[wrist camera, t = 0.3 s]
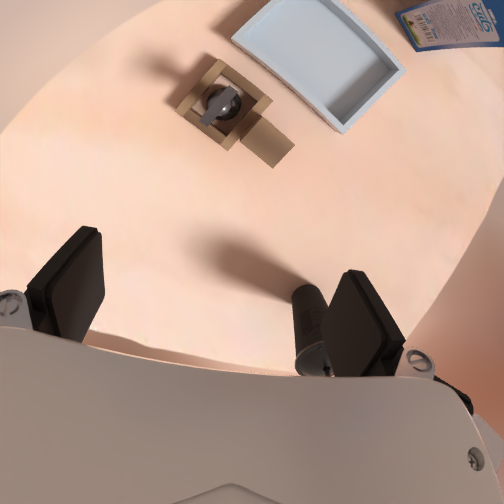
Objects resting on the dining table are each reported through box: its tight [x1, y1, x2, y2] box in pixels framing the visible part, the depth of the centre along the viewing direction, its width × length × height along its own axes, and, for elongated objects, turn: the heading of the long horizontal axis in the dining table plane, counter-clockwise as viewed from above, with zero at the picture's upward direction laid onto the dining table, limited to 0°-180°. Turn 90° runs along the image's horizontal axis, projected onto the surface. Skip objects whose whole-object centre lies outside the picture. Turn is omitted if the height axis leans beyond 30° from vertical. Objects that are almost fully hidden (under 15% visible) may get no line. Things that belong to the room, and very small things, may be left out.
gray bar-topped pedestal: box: [199, 85, 241, 127], centre depth 28 cm, size 4×4×10 cm
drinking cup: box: [292, 285, 334, 377], centre depth 38 cm, size 8×8×20 cm
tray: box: [231, 0, 406, 135], centre depth 27 cm, size 13×17×3 cm
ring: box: [175, 59, 295, 168], centre depth 30 cm, size 8×12×6 cm, turn 49°
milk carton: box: [395, 0, 504, 52], centre depth 16 cm, size 10×6×20 cm, turn 123°
